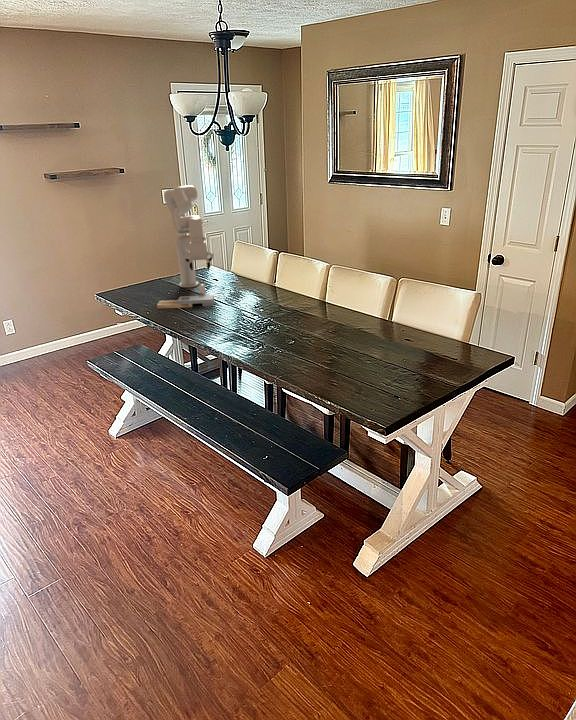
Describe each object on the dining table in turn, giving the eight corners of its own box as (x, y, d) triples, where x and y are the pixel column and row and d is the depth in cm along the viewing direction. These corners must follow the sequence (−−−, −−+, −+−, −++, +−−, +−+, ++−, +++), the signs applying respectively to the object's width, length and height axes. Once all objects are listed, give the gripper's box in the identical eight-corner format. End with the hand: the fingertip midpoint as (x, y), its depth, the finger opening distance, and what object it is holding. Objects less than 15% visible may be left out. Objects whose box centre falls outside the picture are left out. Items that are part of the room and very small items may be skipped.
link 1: (159, 304, 318) (159, 300, 317) (194, 302, 318) (193, 299, 317) (157, 308, 311) (156, 305, 310) (192, 307, 311) (191, 303, 310)
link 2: (180, 303, 318) (179, 296, 316) (214, 301, 318) (213, 295, 316) (178, 307, 311) (177, 301, 309) (213, 306, 311) (212, 299, 309)
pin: (201, 298, 324) (199, 284, 320) (206, 298, 324) (204, 283, 320) (200, 300, 321) (198, 285, 317) (205, 300, 321) (204, 285, 317)
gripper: (212, 237, 311) (215, 266, 318) (182, 239, 311) (186, 268, 318) (211, 240, 304) (214, 270, 311) (180, 242, 304) (184, 271, 311)
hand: (200, 269), depth 315 cm, fingers open, 9 cm apart
